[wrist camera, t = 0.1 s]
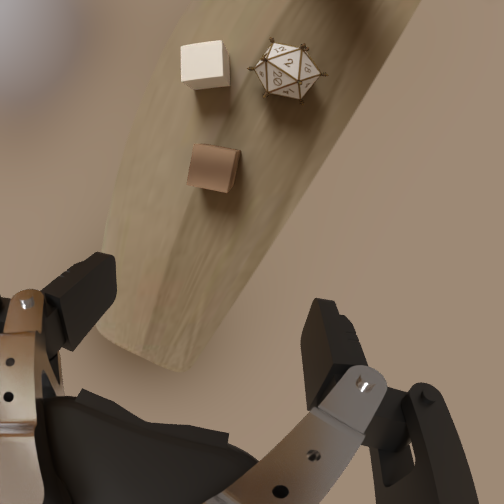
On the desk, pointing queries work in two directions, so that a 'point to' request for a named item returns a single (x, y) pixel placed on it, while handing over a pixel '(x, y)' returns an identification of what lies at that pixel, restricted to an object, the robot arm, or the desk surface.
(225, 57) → the white block
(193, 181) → the walnut block
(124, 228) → the desk surface
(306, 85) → the game die
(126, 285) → the desk surface
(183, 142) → the desk surface
